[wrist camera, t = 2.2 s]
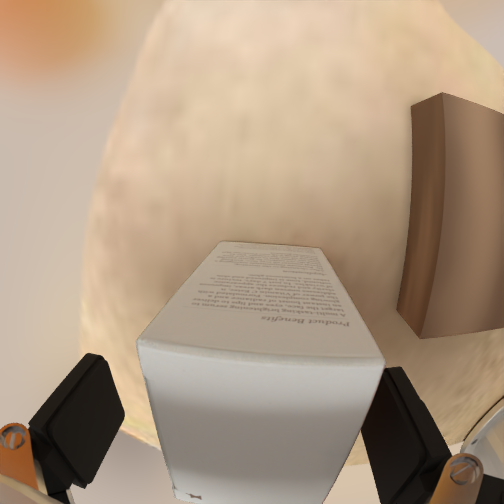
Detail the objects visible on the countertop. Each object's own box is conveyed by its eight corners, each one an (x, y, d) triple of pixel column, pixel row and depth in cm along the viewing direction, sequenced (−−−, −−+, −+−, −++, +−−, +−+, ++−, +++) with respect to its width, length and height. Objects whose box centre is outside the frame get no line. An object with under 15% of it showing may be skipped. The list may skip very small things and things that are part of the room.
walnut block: (531, 146, 12) (566, 146, 9) (514, 298, 15) (543, 319, 12) (407, 107, 13) (442, 92, 9) (394, 306, 16) (419, 339, 13)
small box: (304, 367, 17) (319, 515, 7) (217, 360, 18) (173, 502, 8) (323, 244, 15) (396, 361, 5) (218, 237, 16) (128, 341, 6)
